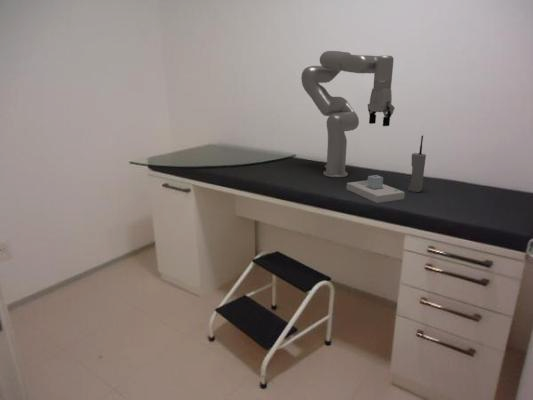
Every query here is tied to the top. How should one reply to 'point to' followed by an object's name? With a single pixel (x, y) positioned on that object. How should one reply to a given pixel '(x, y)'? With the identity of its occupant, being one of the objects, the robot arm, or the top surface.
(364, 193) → the outlet plate
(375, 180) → the charger block
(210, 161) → the top surface
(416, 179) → the vintage mobile phone
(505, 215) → the top surface
